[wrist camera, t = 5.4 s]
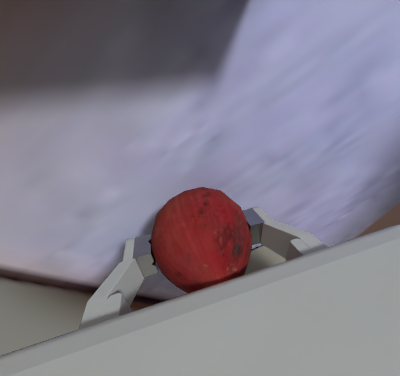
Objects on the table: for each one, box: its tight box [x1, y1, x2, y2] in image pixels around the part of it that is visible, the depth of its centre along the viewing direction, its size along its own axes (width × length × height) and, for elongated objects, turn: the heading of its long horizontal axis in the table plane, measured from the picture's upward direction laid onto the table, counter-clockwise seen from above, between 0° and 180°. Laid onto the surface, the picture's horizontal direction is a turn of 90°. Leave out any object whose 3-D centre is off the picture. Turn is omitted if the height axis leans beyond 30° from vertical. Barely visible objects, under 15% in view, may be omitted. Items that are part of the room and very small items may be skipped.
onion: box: [151, 187, 252, 293], centre depth 10 cm, size 6×6×8 cm
